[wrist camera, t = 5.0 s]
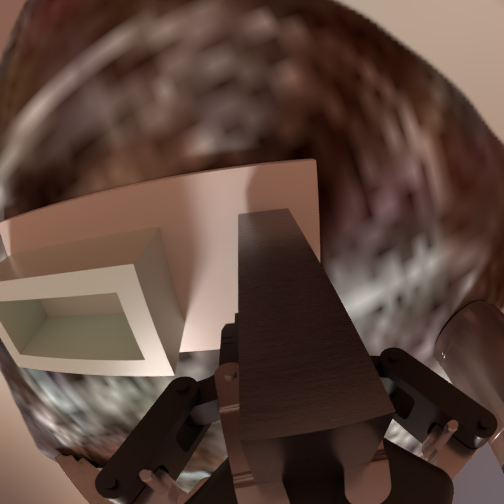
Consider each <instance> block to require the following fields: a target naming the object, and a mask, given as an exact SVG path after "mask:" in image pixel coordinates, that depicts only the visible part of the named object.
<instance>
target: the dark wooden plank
mask: <svg viewBox="0 0 504 504" xmlns="http://www.w3.org/2000/svg"><path fill="white" fill-rule="evenodd" d="M238 352H239V416H240V442H241V445H242V448H243V451H244V454H245V456H246V459H247V462H248V465H249V468H250V470H251V473H252V476H253V478H254V481H255V482H262V481H272V480H281V479H282V482H283V485H284V488H288V487H295V486H301V485H308V484H313V483H319V482H324V481H329V480H333V479H338V478H340V477H341V474H342V472H343V470H344V468H347V467H351V466H355V465H359V464H362V463H366V462H370V461H371V460H372V458H373V456H374V454H375V452H376V450H377V449H378V447H379V445H380V443H381V441H382V439H383V437H384V435H385V433H386V431H387V429H388V427H389V425H390V423H391V421H392V419H393V416H394V414H395V412H396V411H395V409H394V406H393V404H392V402H391V400H390V398H389V396H388V393H387V391H386V389H385V387H384V385H383V383H382V381H381V379H380V377H379V375H378V372H377V370H376V368H375V366H374V364H373V362H372V360H371V358H370V356H369V354H368V352H367V350H366V348H365V346H364V344H363V342H362V340H361V338H360V336H359V334H358V332H357V330H356V328H355V327H354V325H353V323H352V321H351V319H350V317H349V315H348V313H347V311H346V309H345V308H344V306H343V304H342V302H341V300H340V298H339V296H338V295H337V293H336V291H335V289H334V287H333V285H332V284H331V282H330V280H329V278H328V276H327V274H326V273H325V271H324V269H323V267H322V266H321V264H320V262H319V260H318V258H317V257H316V255H315V253H314V251H313V250H312V248H311V246H310V245H309V243H308V241H307V239H306V238H305V236H304V234H303V232H302V231H301V229H300V227H299V226H298V224H297V222H296V221H295V219H294V217H293V216H292V214H291V212H290V211H289V209H288V208H286V209H277V210H268V211H260V212H251V213H243V214H238Z"/></svg>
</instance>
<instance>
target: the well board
mask: <svg viewBox="0 0 504 504" xmlns="http://www.w3.org/2000/svg"><path fill="white" fill-rule="evenodd" d="M286 208H288V209H289V211H290V212H291V214H292V216H293V217H294V219H295V221H296V222H297V224H298V226H299V227H300V229H301V231H302V232H303V234H304V236H305V238H306V239H307V241H308V243H309V245H310V246H311V248H312V250H313V251H314V253H315V255H316V257H317V258H318V260H319V262H320V226H319V201H318V182H317V167H316V160H314V159H299V160H287V161H277V162H267V163H258V164H249V165H241V166H234V167H226V168H219V169H212V170H206V171H199V172H193V173H187V174H181V175H176V176H170V177H165V178H159V179H154V180H149V181H144V182H140V183H135V184H130V185H126V186H121V187H117V188H112V189H108V190H104V191H100V192H96V193H92V194H88V195H84V196H80V197H76V198H73V199H69V200H65V201H62V202H58V203H55V204H52V205H48V206H45V207H42V208H38V209H35V210H32V211H29V212H26V213H23V214H20V215H17V216H14V217H11V218H8V219H5V220H3V221H1V222H0V234H1V237H2V240H3V243H4V246H5V249H6V252H7V254H8V257H7V258H6V259H4V260H3V261H2V262H1V263H0V338H1V340H2V341H3V343H4V345H5V346H6V348H7V349H8V351H9V353H10V354H11V356H12V357H13V359H14V360H15V362H16V363H17V365H18V366H19V367H25V368H31V369H39V370H47V371H56V372H65V373H77V374H91V375H111V376H175V371H176V366H177V361H178V356H179V352H188V351H202V350H214V349H220V345H221V344H220V343H221V330H222V329H223V327H224V326H225V324H228V323H235V313H238V214H243V213H251V212H260V211H268V210H277V209H286Z"/></svg>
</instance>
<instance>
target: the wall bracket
mask: <svg viewBox="0 0 504 504" xmlns="http://www.w3.org/2000/svg"><path fill="white" fill-rule="evenodd" d="M55 459H56V461H57V462H58V463H59V465H60V466H61V468H62V469H63V471H64V472H65V473H66V475H67V476H68V477H69V479H70V480H71V481H72V483H73V484H74V485H75V487H76V488H77V489H78V490H79V492H80V493H81V494H82V495H83V496H84V498H85V499H86V500H87V501H88V502H89V504H112V503H111V502H110V501H109V500H107V499H105V498H104V497H102V496H101V495H100V494H99V493H98V492H97V490H96V488H95V479H96V477H97V475H98V474H99V473H100V471H99V470H98V469H97V468H95V467H94V466H93V465H92V464H91V463H89V462H88V461H87V460H86V459H85V458H81V459H80V460H79V461H78V460H77V459H76V458H75V457H73V456H72V455H69V456H63V455H61V454H59V455H58V456H57V457H56V458H55ZM208 478H209V477H205V478H203V479H201V480H200V481H199V482H198V484H197V485H196V486H195V487H194V488H193V489H192V490H191V491H190V492H189V493H188V494H187V493H186V492H184V491H183V490H181V489H180V495H179V498H178V501H177V504H184V503H185V502H186V501H187V500H188V499H189V498H190V497H191V496H192V495H193V494H194V493H195V492H196V491H197V490H198V489H199V488H200V487H201V486H202V485H203V484H204V483H205V482H206V481H207V479H208Z"/></svg>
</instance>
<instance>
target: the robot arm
mask: <svg viewBox="0 0 504 504" xmlns="http://www.w3.org/2000/svg"><path fill="white" fill-rule="evenodd" d="M220 344H221V345H220V359H219V367H218V368H217V369H216V371H215V373H214V375H213V376H211V377H209V378H207V379H204V380H201V381H198V382H196V380H195V379H193V378H191V377H179V378H176V379H174V380H173V381H172V382H171V383H170V384H169V385H168V386H167V388H166V389H165V390H164V392H163V393H162V394H161V395H160V397H159V398H158V399H157V401H156V402H155V403H154V404H153V406H152V407H151V408H150V409H149V411H148V412H147V413H146V415H145V416H144V417H143V418H142V420H141V421H140V422H139V424H138V425H137V426H136V427H135V429H134V430H133V431H132V432H131V434H130V435H129V436H128V437H127V439H126V440H125V441H124V443H123V444H122V445H121V446H120V448H119V449H118V450H117V451H116V453H115V454H114V455H113V456H112V458H111V459H110V460H109V461H108V463H107V464H106V465H105V466H104V468H103V469H102V470H101V471H100V473H99V474H98V475H97V477H96V479H95V488H96V490H97V492H98V493H99V494H100V495H101V496H102V497H104V498H105V499H107V500H109V501H110V502H111V503H112V504H177V501H178V498H179V495H180V487H179V485H178V483H177V482H176V479H177V478H178V476H179V475H180V473H181V472H182V470H183V469H184V467H185V465H186V464H187V462H188V461H189V459H190V458H191V456H192V454H193V453H194V451H195V450H196V448H197V446H198V445H199V443H200V442H201V440H202V438H203V437H204V435H205V433H206V432H207V430H208V428H209V427H210V425H211V423H212V422H215V421H218V420H221V424H222V429H223V434H224V439H225V444H226V449H227V453H228V457H227V458H226V460H225V461H224V462H223V463H222V464H221V465H220V466H219V467H218V469H217V470H216V471H215V472H214V473H213V474H212V475H211V476H210V477H209V478H208V479H207V481H206V482H205V483H204V484H203V485H202V486H201V487H200V488H199V489H198V490H197V491H196V492H195V493H194V494H193V495H192V496H191V497H190V498H189V499H188V500H187V501H186V502H185V503H184V504H452V500H453V494H454V487H453V483H452V479H453V478H454V477H455V476H456V475H457V474H458V472H459V471H460V470H461V469H462V468H463V466H464V465H465V464H466V463H467V461H468V460H469V459H471V458H472V457H473V456H474V454H475V453H477V452H478V450H479V449H480V448H481V447H482V446H483V445H484V444H485V443H486V442H488V444H489V446H490V447H491V449H492V451H493V453H494V454H495V457H496V459H497V461H498V463H499V464H500V466H501V467H502V468H501V469H502V470H503V473H504V314H503V313H502V312H501V311H500V310H499V309H498V308H497V307H496V306H495V305H494V304H492V305H488V304H487V303H486V302H484V301H476V302H473V303H471V304H469V305H467V306H466V307H464V308H463V309H462V310H460V311H459V312H458V313H457V314H456V315H455V316H454V317H453V318H452V319H451V320H450V321H449V322H448V324H447V325H446V326H445V328H444V329H443V331H442V332H441V334H440V336H439V338H438V340H437V342H436V345H435V349H434V355H435V358H436V360H437V361H438V363H439V364H440V366H441V367H442V368H443V370H444V371H445V373H446V374H447V376H448V377H449V379H450V381H451V382H452V384H453V385H454V386H453V385H452V384H451V383H449V382H448V381H446V380H445V379H443V378H442V377H441V376H439V375H438V374H436V373H435V372H434V371H432V370H431V369H429V368H428V367H426V366H425V365H424V364H422V363H421V362H419V361H418V360H417V359H415V358H414V357H412V356H411V355H409V354H408V353H407V352H405V351H404V350H402V349H399V348H388V349H385V350H384V351H383V352H382V353H381V355H380V356H370V358H371V360H372V362H373V364H374V366H375V368H376V370H377V372H378V375H379V377H380V379H381V381H382V383H383V385H384V387H385V389H386V391H387V393H388V396H389V398H390V400H391V402H392V404H393V406H394V409H395V411H396V412H395V414H394V416H393V419H394V420H395V421H396V422H397V423H398V424H400V425H401V426H402V427H403V428H404V429H405V430H407V431H408V432H409V433H410V434H411V435H412V436H414V437H415V438H416V439H417V440H418V441H420V442H421V443H422V453H423V455H424V458H425V459H426V460H428V462H427V461H425V460H423V459H422V458H420V457H418V456H416V455H414V454H412V453H410V452H409V451H407V450H405V449H403V448H401V447H400V446H398V445H396V444H394V443H393V442H391V441H389V440H387V439H386V438H384V437H383V439H382V441H381V443H380V445H379V447H378V449H377V450H376V452H375V454H374V456H373V458H372V460H371V461H370V462H366V463H362V464H359V465H355V466H351V467H347V468H344V470H343V472H342V474H341V477H340V478H338V479H333V480H329V481H324V482H319V483H313V484H308V485H301V486H295V487H288V488H284V485H283V482H282V479H281V480H272V481H262V482H255V481H254V478H253V476H252V473H251V470H250V468H249V465H248V462H247V459H246V456H245V454H244V451H243V448H242V445H241V442H240V416H239V352H238V313H235V323H228V324H225V326H224V327H223V329H222V330H221V343H220Z"/></svg>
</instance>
